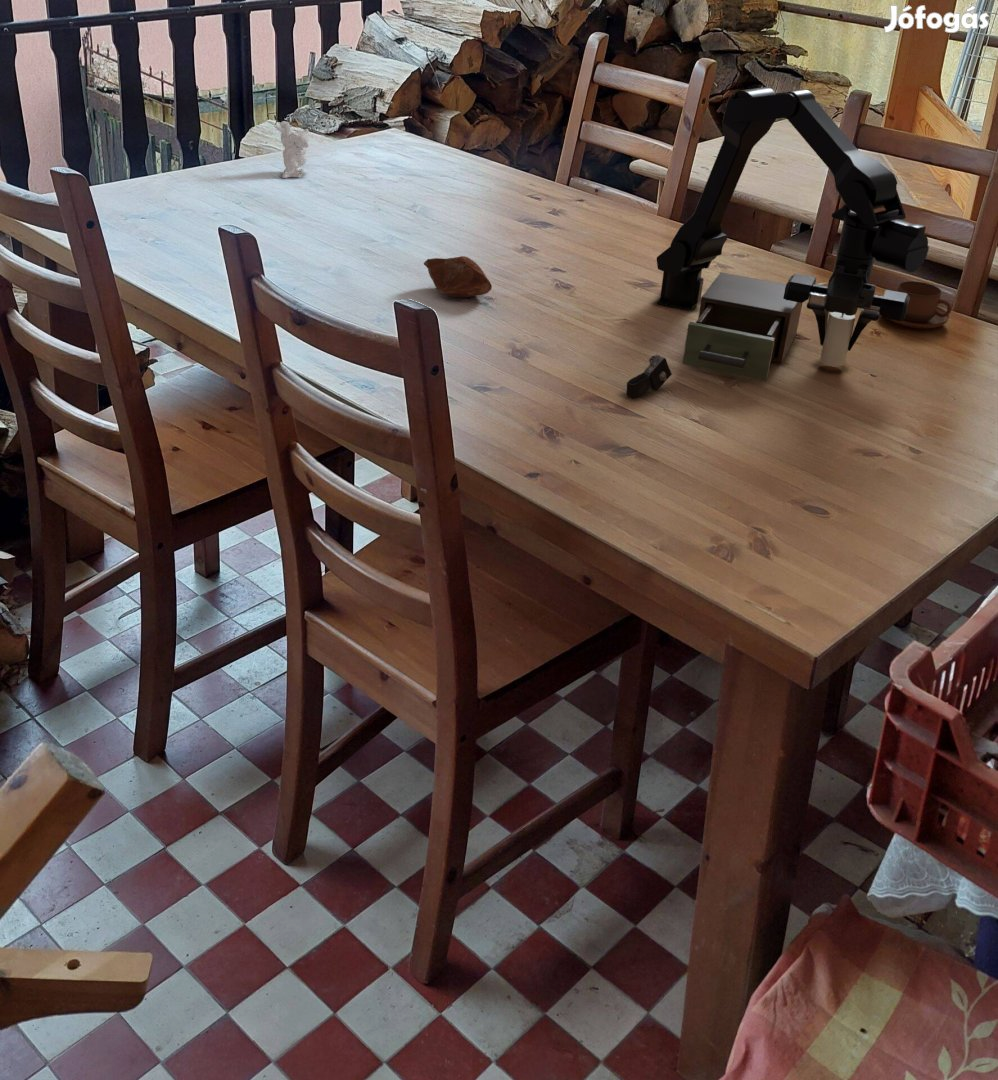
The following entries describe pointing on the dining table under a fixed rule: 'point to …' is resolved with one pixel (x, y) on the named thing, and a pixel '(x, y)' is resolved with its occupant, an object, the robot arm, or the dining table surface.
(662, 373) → the padlock
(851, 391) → the dining table surface
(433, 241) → the dining table surface
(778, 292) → the cabinet
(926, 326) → the cup and saucer
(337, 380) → the dining table surface
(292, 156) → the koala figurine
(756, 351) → the drawer
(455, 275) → the brown rock
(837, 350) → the candle
